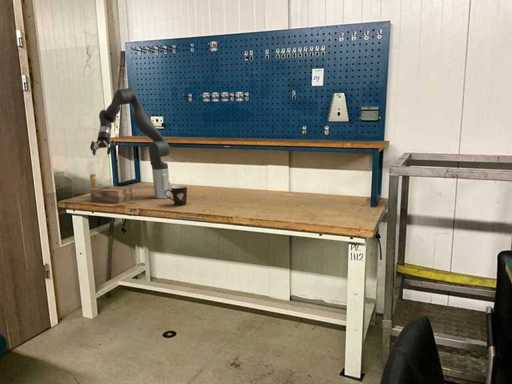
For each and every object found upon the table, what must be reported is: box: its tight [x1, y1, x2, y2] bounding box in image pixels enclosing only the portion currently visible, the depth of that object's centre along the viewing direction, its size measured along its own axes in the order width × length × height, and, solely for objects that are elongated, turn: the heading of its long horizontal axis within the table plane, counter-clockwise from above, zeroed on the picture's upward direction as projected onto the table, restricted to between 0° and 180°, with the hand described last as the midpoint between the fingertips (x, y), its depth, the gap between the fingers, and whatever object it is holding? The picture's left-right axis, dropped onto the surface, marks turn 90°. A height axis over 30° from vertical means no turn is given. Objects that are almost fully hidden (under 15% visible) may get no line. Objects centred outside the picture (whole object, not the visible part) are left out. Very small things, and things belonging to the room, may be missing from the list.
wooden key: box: [89, 173, 99, 190], centre depth 252 cm, size 4×4×14 cm
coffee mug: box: [165, 184, 188, 207], centre depth 225 cm, size 12×9×10 cm
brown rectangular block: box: [89, 185, 133, 204], centre depth 242 cm, size 12×20×7 cm, turn 69°
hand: (101, 154), depth 257 cm, fingers open, 8 cm apart
